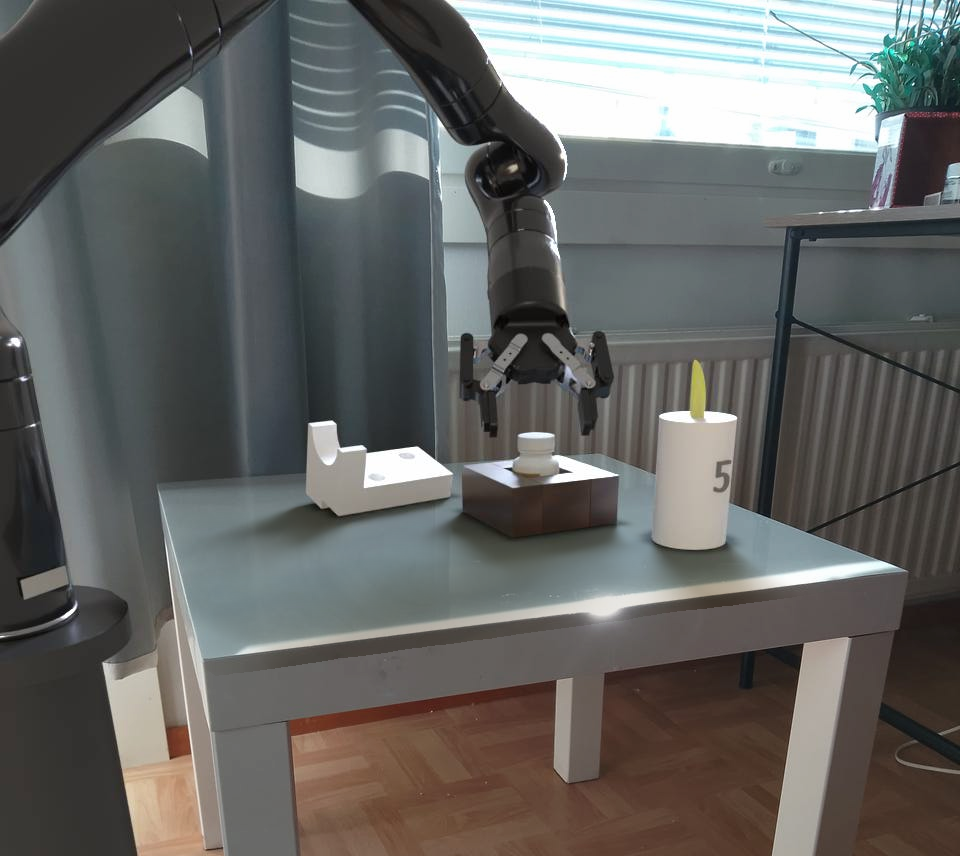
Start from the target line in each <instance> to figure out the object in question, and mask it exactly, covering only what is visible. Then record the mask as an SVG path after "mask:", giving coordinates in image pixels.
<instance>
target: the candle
mask: <svg viewBox="0 0 960 856" xmlns="http://www.w3.org/2000/svg"><path fill="white" fill-rule="evenodd" d="M690 387H691V388H690V396H689V397H690V398H689V410H688V411H687V410H685V411H670V412H664V413H662V414H660V415H659V416H658V430H657V447H656V462H655V464H656V465H655V479H654V480H655V482H654V497H653V510H652V513H653V514H652V528H651V541H653V542H654V543H655V544H658V545H659V546H663V547H666V548H670V549H671V548H672V549H676V550H688V551H690V550H691V551H699V550H700V551H701V550H711V549H717V548H719V547H722V546H724V545H725V544H726V541H727V532H728V531H727V530H728V522H729V521H728V519H729V518H728V517H729V510H730V507H729V506H730V499H731V489H732V477H733V466H734V455H735V445H736V435H737V434H736V433H737V426H738V425H737V424H738V417H737V416H736V415H733V414H730V413H725V412H717V411H706V404H707V403H706V402H707V389H706V380H705V375H704V370H703V369H702V366H701V364H700V362H699V361H698V360H697V359H694V360H693V361H692V368H691V386H690Z"/></svg>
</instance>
